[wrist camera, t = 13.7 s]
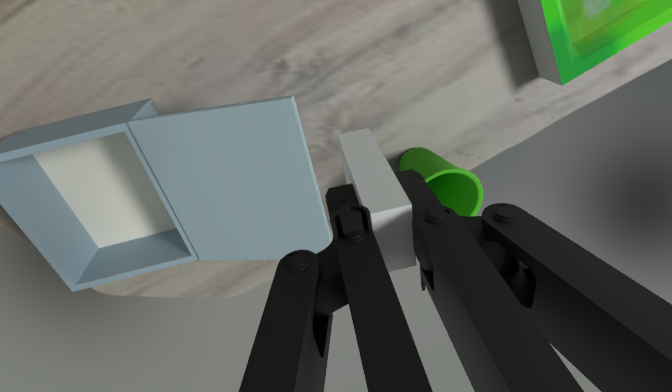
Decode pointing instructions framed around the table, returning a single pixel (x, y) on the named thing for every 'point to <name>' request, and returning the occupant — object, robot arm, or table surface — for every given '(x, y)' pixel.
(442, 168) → the cup
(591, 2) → the tray
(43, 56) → the table surface
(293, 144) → the lid
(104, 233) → the box
